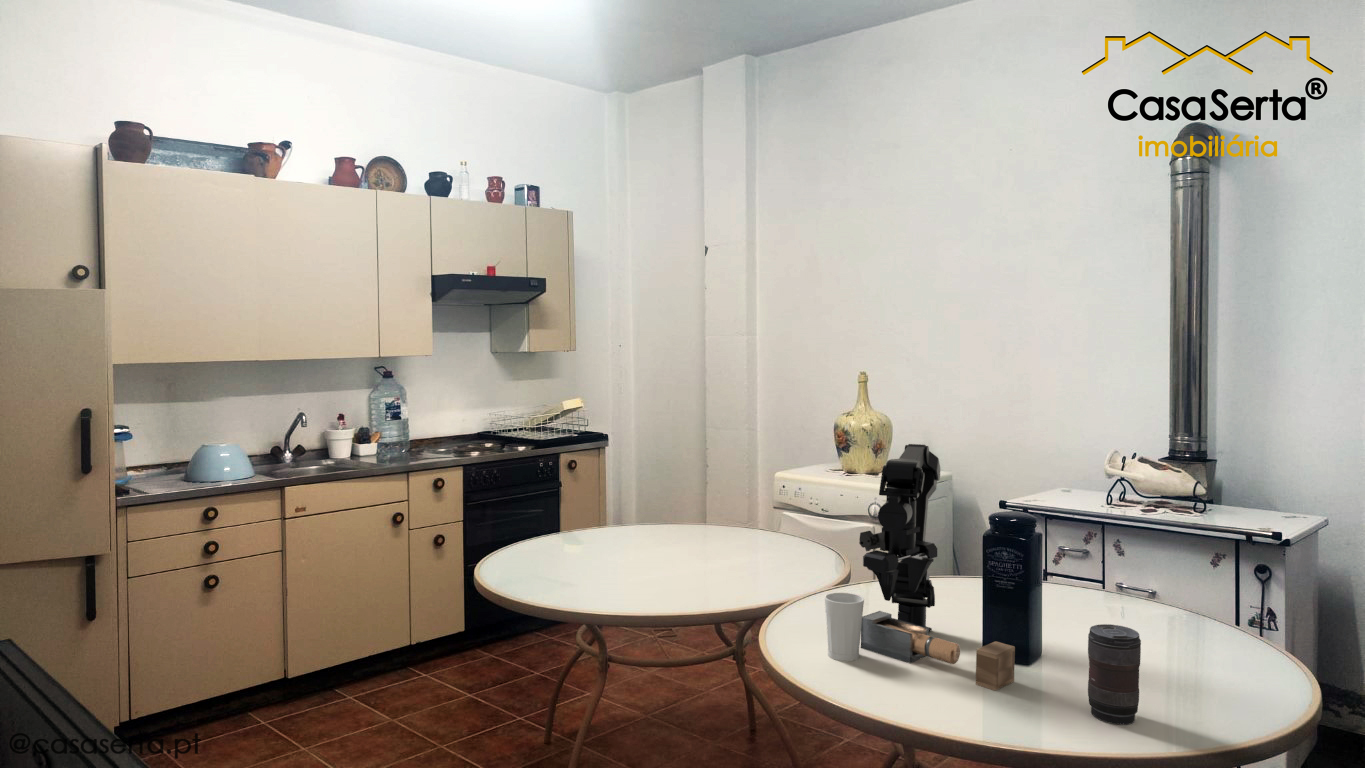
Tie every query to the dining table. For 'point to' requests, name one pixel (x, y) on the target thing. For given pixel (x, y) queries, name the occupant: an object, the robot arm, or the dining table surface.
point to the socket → (995, 665)
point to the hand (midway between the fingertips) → (900, 596)
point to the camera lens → (1113, 673)
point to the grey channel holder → (889, 636)
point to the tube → (932, 646)
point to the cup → (843, 625)
